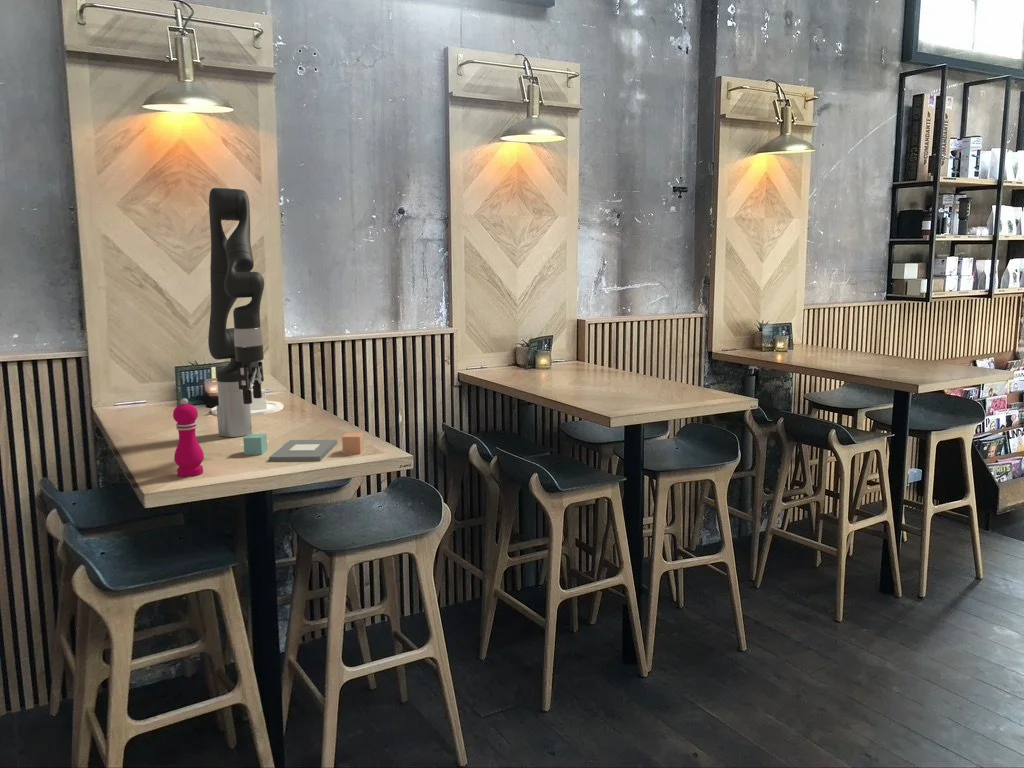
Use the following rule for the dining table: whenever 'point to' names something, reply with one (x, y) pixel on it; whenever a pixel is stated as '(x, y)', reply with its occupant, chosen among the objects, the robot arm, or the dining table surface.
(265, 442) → the teal cube
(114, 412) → the dining table surface
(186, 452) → the pepper mill
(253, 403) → the dish
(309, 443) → the plate
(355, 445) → the orange cube
